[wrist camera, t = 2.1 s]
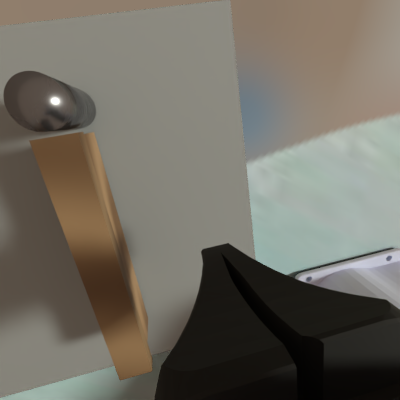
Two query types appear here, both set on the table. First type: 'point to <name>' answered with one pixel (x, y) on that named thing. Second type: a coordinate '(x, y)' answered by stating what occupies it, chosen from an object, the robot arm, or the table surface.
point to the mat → (121, 178)
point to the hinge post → (47, 103)
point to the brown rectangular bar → (97, 245)
